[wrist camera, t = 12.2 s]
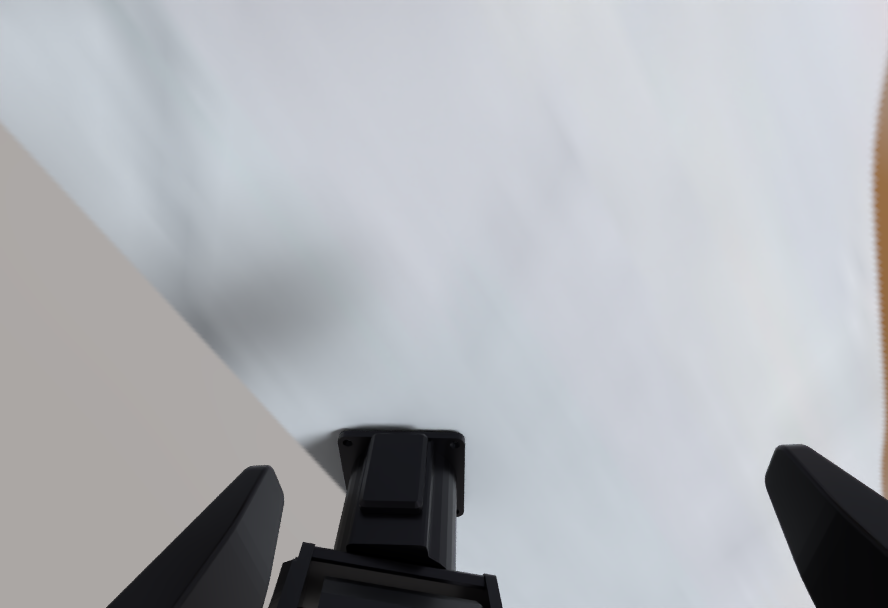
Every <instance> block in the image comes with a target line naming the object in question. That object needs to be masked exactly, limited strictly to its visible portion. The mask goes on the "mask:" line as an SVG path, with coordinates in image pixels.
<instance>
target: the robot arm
mask: <svg viewBox="0 0 888 608" xmlns="http://www.w3.org/2000/svg"><path fill="white" fill-rule="evenodd" d="M349 440H350V441H349ZM338 446H339V451H340V457H341V462H342V468H343V473H344V479H345V484H346V489H347V494H346V498H345V503H344V507H343V511H342V516H341V520H340V524H339V528H338V533H337V537H336V542H335V546H334V550H333V549H327V548H321V547H315V544H312V543H306V542H303V543H302V547H301V550H300V553H299V556H298V557H296V558H295V559H293V560H291V561H287V562H284V563H283V564H282V568H281V571H280V574H279V577H278V580H277V583H276V587H275V590H274V593H273V596H272V599H271V602H270V604H269V607H268V608H503V607H502V602H501V598H500V593H499V588H498V583H497V578H496V576H495V575H490V574H483V576H482V575H477V574H471V573H465V572H459V571H456V517H459V516H461V515H463V513H464V470H465V438H464V436H463V435H462V434H460V433H457V432H412V431H354V430H347V431H343V432H341V434H340V436H339V439H338ZM765 485H766V489H767V492H768V495H769V497H770V500H771V502H772V505H773V507H774V510H775V513H776V515H777V518H778V520H779V523H780V525H781V528H782V531H783V533H784V536H785V538H786V541H787V544H788V546H789V549H790V551H791V554H792V556H793V559H794V562H795V564H796V566H797V569H798V571H799V574H800V576H801V578H802V580H803V582H804V584H805V587H806V589H807V591H808V593H809V595H810V597H811V599H812V601H813V603H814V605H815V607H816V608H888V500H887V499H885V498H884V497H882V496H881V495H879V494H878V493H876V492H875V491H874V490H872V489H871V488H869V487H868V486H866V485H865V484H863V483H862V482H860V481H859V480H857V479H856V478H854V477H853V476H851V475H850V474H848V473H847V472H845V471H844V470H843V469H841V468H840V467H838V466H837V465H835V464H834V463H832V462H831V461H829V460H828V459H826V458H825V457H823V456H822V455H820V454H819V453H817V452H816V451H814V450H813V449H811V448H810V447H808V446H806V445H802V444H790V445H779V446H778V447H777V448H776V449H775V451H774V453H773V456H772V458H771V461H770V464H769V466H768V469H767V472H766V475H765ZM283 506H284V494H283V491H282V488H281V486H280V484H279V481H278V479H277V477H276V474H275V472H274V470H273V468H272V467H271V466H269V465H261V466H260V465H259V466H250V467H248V468H246V469H245V470H244V471H243V472H242V473H241V474H240V475H239V476H238V477H237V478H236V479H235V480H234V481H233V482H232V483H231V484H230V485H229V486H228V487H227V488H226V489H225V490H224V491H223V492H222V493H221V494H220V495H219V496H218V497H217V498H216V499H215V500H214V501H213V502H212V503H211V504H210V505H209V506H208V507H207V508H206V509H205V510H204V511H203V512H202V513H201V514H200V515H199V516H198V517H197V518H196V519H195V520H194V521H193V522H192V523H191V524H190V525H189V526H188V527H187V528H186V529H185V530H184V531H183V532H182V533H181V534H180V535H179V536H178V537H177V538H176V539H175V540H174V541H173V542H172V543H171V544H170V545H169V546H168V547H167V548H166V549H165V550H164V551H163V552H162V553H161V554H160V555H158V557H157V558H155V560H154V561H152V563H151V564H149V565H148V566H147V567H146V568H145V569H144V571H142V572H141V574H139V575H138V576H137V577H136V578H135V579H134V581H132V583H130V584H129V585H128V586H127V588H125V589H124V590H123V591H122V592H121V593H120V594H119V595H118V596H117V597H116V598H115V599H114V600H113V601H112V602H111V603H110V604H109V605H108V606H107V607H106V608H263V604H264V601H265V597H266V593H267V589H268V585H269V580H270V576H271V570H272V565H273V559H274V554H275V549H276V544H277V538H278V533H279V528H280V522H281V517H282V512H283Z"/></svg>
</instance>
